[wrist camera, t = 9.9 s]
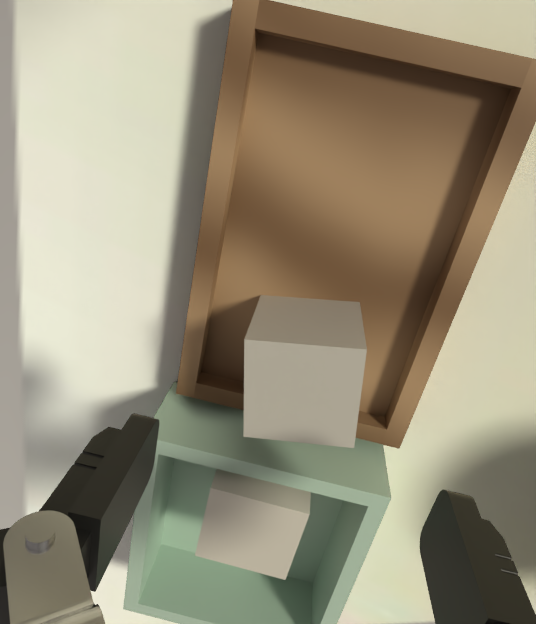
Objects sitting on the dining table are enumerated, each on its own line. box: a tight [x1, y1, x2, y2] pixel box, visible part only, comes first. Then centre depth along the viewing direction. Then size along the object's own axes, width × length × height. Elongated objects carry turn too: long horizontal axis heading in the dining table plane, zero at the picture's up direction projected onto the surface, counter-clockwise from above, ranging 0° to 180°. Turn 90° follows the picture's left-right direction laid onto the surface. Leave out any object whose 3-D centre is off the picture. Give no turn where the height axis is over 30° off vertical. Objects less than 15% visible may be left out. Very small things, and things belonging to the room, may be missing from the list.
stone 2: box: [195, 469, 311, 580], centre depth 21 cm, size 4×4×4 cm
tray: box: [176, 0, 536, 448], centre depth 18 cm, size 15×10×2 cm, turn 168°
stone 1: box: [243, 295, 367, 448], centre depth 18 cm, size 4×4×4 cm
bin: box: [123, 382, 391, 624], centre depth 22 cm, size 11×10×4 cm
